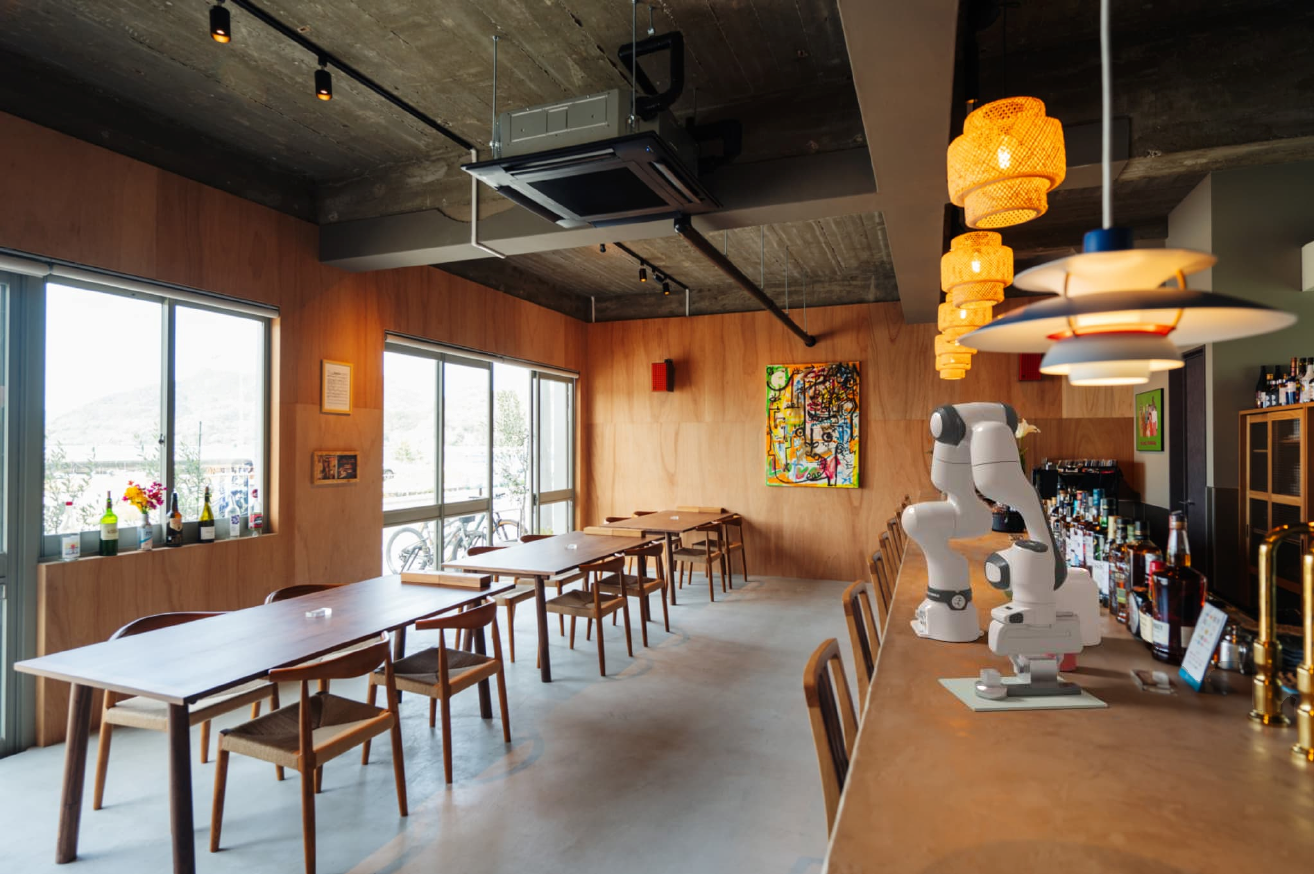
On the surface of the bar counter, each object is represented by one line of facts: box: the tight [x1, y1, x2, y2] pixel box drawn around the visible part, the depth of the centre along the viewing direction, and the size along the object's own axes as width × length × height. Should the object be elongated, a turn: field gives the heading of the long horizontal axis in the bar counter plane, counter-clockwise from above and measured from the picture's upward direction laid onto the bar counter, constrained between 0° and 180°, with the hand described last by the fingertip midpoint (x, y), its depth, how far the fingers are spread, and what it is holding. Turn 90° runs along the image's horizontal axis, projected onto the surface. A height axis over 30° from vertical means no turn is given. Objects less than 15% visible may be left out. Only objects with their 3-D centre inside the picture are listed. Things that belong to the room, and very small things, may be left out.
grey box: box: [1016, 654, 1058, 684], centre depth 156 cm, size 6×6×6 cm
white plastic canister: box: [1053, 566, 1102, 647], centre depth 190 cm, size 12×12×20 cm
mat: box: [938, 675, 1109, 712], centre depth 151 cm, size 18×28×1 cm, turn 90°
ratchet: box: [975, 668, 1082, 701], centre depth 149 cm, size 6×22×5 cm, turn 90°
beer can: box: [1047, 653, 1077, 672], centre depth 167 cm, size 7×7×12 cm
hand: (1036, 672), depth 156 cm, fingers open, 7 cm apart
